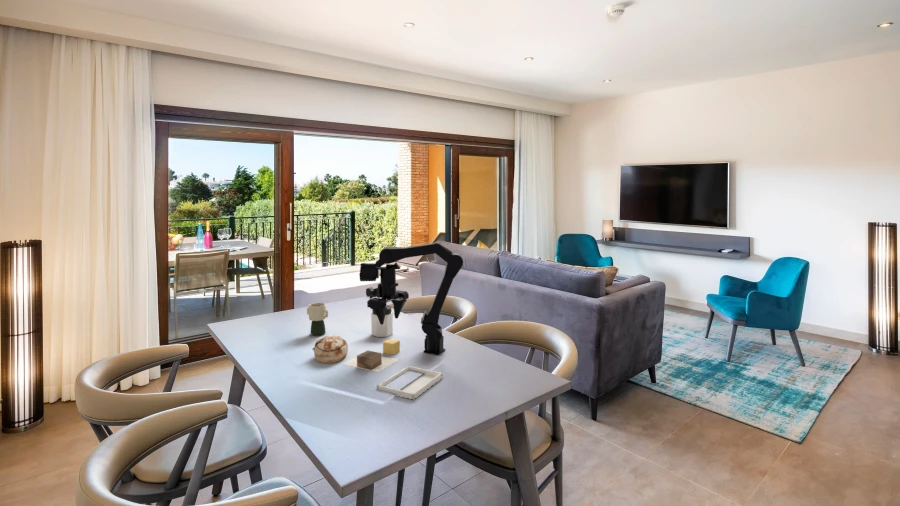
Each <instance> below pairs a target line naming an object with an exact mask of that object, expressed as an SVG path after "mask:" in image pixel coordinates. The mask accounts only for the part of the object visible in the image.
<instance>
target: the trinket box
mask: <svg viewBox="0 0 900 506" xmlns="http://www.w3.org/2000/svg"><path fill="white" fill-rule="evenodd" d="M348 349H349V348H348V343H347V341H346V340H345V339H344V338H343V337H341V336H339V335H336V334H335V335H333V334H330V335H326V336H323V337H322V338H320V339H319V338H318V340H316V342H315V344H314V347H312V351H313V354H314V358H315V359H316V361H317V362H318V363H322V364H334V363H338V362H340V361H342V360H344V359H345V357H347V356H348V355H347V354H348V351H349V350H348Z"/></svg>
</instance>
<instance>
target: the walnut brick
mask: <svg viewBox="0 0 900 506" xmlns="http://www.w3.org/2000/svg"><path fill="white" fill-rule="evenodd" d="M382 353H383V352H382ZM382 353H381V352H377V351H373V350H365V351H363V352H362V353H359V354H357V355H356V357H357V367H360V368H359V369H361V368H365V369H369V370H368V371H370V370H372V369H374V368H376V367H378V366H379V365H381V364H382V356H383V354H382ZM365 369H364V370H365Z"/></svg>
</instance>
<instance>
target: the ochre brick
mask: <svg viewBox="0 0 900 506" xmlns="http://www.w3.org/2000/svg"><path fill="white" fill-rule="evenodd" d="M400 349H401V340H399V339H398V340H397V339H392V338H388V339H387V340H384V341H383V342H382V353H383V354H388V355H396V354H398V353H399V352H400V351H401V350H400Z"/></svg>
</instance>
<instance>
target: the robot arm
mask: <svg viewBox="0 0 900 506" xmlns="http://www.w3.org/2000/svg"><path fill="white" fill-rule="evenodd" d="M434 254H436V255H437V256H438V257H439V258H440V259H442V260H443V261H444V262H446V263H445V268H444V274H443V277H442V278H441V282H440V284H439V287H438V289H437V290H436V291H437V292H436V294H435V296H434V299H433V301H432V303H431V306H430V308H429V309H428V310H427V309H424V312H423V315H422V317H421V319H420V324H421V331H422V332H423V333H424V334H425V338H424V345H423V346H424V350H423V351H422V352H423V353H426V354H429V355H431V354H432V355H437V356H438V355H440V354H442V353H443V352H445V351H446V348H445V347H444V340H445V339H444V335H443V327H442V326H441V325H440V324H439V320H440V314H441V310H442V308H443V305H444V304H445V301H446V298H447V296H448V293H449V291H450V288H451V286H452V284H453V281H454V279H455V278H456V276H458V273H459V272H460V271H461V269H462V267H463V266H464V260H463V257H462V255H461V254H459V253H458V252H453V251H452V250H450V249H448V248H447V247H445V246H444V245H443V244H441V242H438V241H435V242H432V243H426V244H419V245H418V244H417V245H413V246H405V247H399V246H386V247H383V248H382V249H381V251H380V252H379V254H378V256H379V258H378V259H377V260H376V261H375V262H374V263H373V262H372V263H370V262H369V263H367V262H360V267H359V272H358V273H359V274H358V275H359V282H376V281H377V279H379V278H380V282H379V283H378V284H377V287H376V288H373V287H372V286H371V287H368V288H366V289H365V296H366V297H368V298H369V299H368V300H367V301H366V306H367V308H369V309H370V310H372V309H373V310H374V311H375V312H376V314H377V317H378V319H379V322H380V324H381V325H383V323H384V319H385V314H386V310H387V307H386V305H387V303H388V302H389V303H390V302H391V303H392V305H393V315H394V318H395V319H398V318H399V316H400V315H401V312H402V310H403V308H404V306H405V304H406V302H407V300H408V299H409V293H408V291H406V290H399V289H397V287H398V286H399V282H397V274H396V271H397V270H400V269H401V265H400V264H398V261H401V260H403V259H408V258H414V257H422V256H427V255H434ZM384 265H386V266H384Z"/></svg>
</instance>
